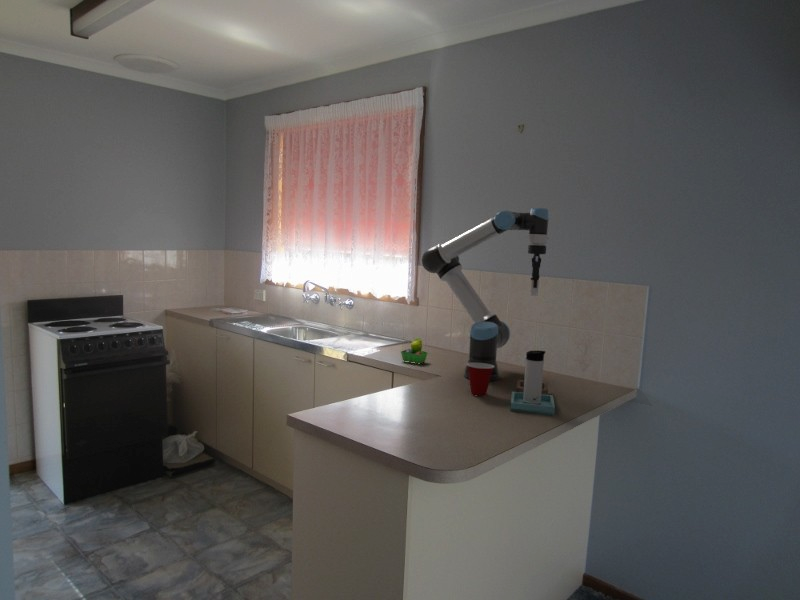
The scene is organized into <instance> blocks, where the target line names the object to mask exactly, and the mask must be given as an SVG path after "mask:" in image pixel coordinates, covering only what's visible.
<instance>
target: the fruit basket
mask: <svg viewBox="0 0 800 600" xmlns="http://www.w3.org/2000/svg"><path fill="white" fill-rule="evenodd" d="M422 343H423V341H422V340H421V338H419V337H416V338H414V340H413V341H412V342H411V344H410V347H411V349H410V348H407V349H403V350H401V351H400V354H401V358H402V361H403V360H404V361H409V362H415V363H422V364H424V363H423V362H426V359H427V356H428V353H429V351H424V350H423V344H422Z"/></svg>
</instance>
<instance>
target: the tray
mask: <svg viewBox="0 0 800 600" xmlns="http://www.w3.org/2000/svg"><path fill="white" fill-rule="evenodd" d="M523 395H524V393H522V392H517V391H511V398H510V410H509V411H510V412H514V411H518V412H517V413H523V412H525V413H524V414H533V413H535V415H543V414H544V416H553V415H554V416H555V410H556V406H555V400H554V395H553V394H548V395H543V394H541V405H535V404H525V403H523Z"/></svg>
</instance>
